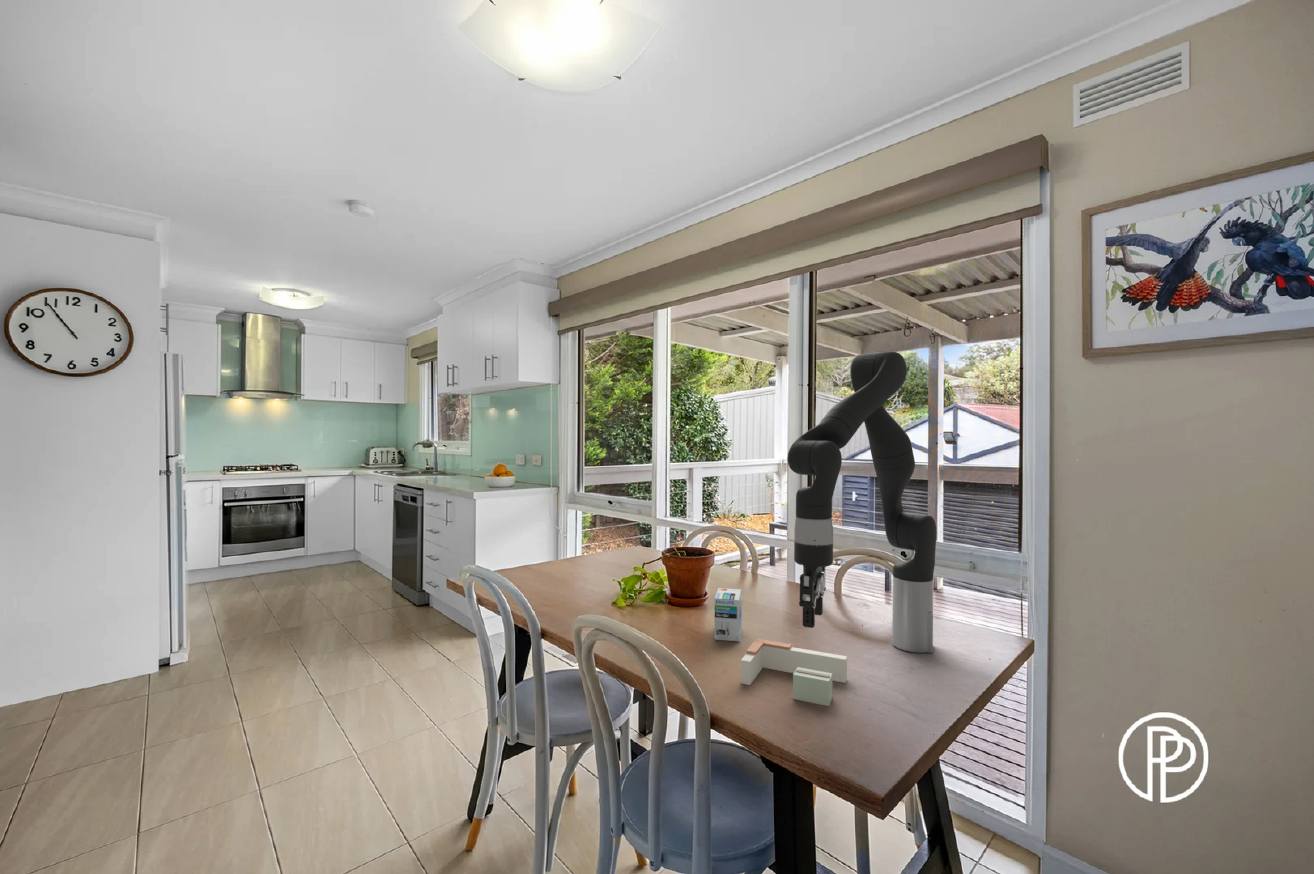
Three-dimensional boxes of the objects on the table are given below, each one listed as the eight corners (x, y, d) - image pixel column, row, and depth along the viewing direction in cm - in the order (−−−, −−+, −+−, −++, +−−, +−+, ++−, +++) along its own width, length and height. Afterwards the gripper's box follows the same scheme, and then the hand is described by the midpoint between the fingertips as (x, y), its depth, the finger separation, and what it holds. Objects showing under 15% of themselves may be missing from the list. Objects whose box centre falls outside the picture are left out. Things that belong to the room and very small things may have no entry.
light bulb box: (740, 642, 145) (740, 600, 145) (713, 640, 146) (713, 598, 146) (742, 628, 156) (742, 588, 155) (717, 626, 157) (717, 587, 157)
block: (832, 697, 115) (832, 672, 115) (828, 706, 112) (829, 680, 112) (797, 690, 118) (797, 666, 118) (793, 699, 115) (793, 673, 115)
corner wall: (847, 679, 124) (847, 653, 123) (838, 703, 113) (838, 674, 113) (756, 662, 132) (756, 638, 132) (740, 683, 122) (740, 656, 121)
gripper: (826, 548, 107) (826, 634, 107) (838, 535, 119) (837, 613, 119) (786, 544, 110) (785, 628, 110) (802, 532, 123) (801, 608, 123)
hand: (812, 620), depth 115 cm, fingers open, 8 cm apart
